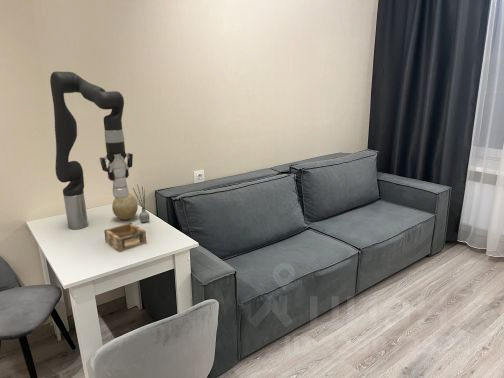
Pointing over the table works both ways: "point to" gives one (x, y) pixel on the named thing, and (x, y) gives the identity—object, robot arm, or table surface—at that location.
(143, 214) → the reed diffuser
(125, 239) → the caddy
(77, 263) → the table surface
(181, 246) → the table surface
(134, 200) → the fossilized egg
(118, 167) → the metal bottle
